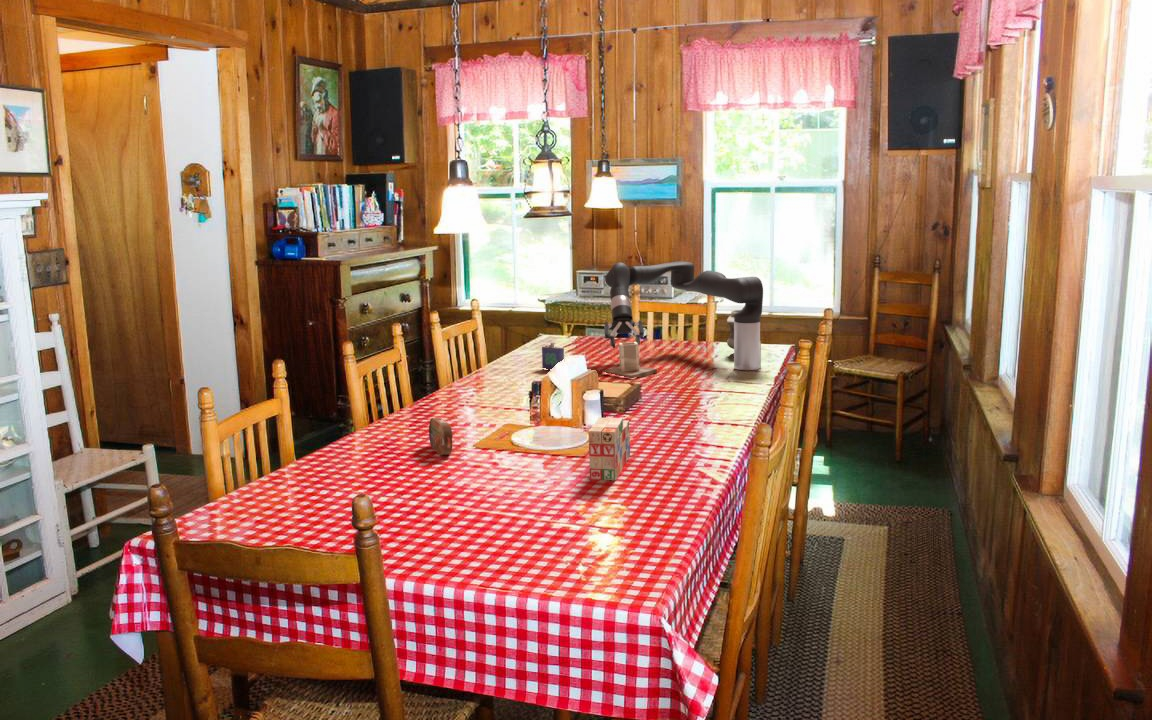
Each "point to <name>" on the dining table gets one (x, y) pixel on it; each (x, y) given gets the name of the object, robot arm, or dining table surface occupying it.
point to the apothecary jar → (731, 330)
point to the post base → (631, 372)
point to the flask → (551, 355)
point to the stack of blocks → (608, 448)
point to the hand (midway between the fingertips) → (625, 346)
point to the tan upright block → (629, 356)
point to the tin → (440, 436)
